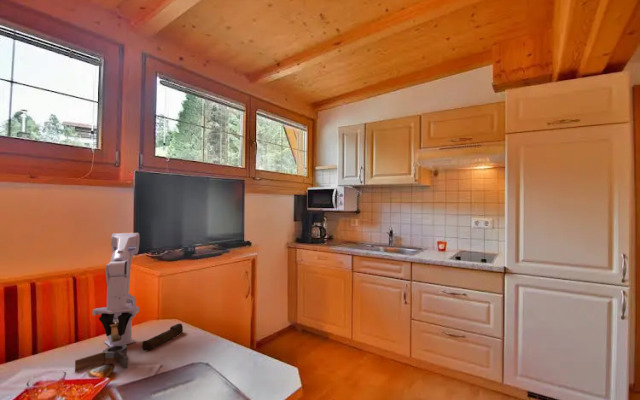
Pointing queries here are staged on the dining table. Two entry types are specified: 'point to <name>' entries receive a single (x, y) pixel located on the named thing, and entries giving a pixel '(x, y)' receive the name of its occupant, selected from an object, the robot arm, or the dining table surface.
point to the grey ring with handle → (117, 354)
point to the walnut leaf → (93, 361)
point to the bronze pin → (115, 331)
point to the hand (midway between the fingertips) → (115, 334)
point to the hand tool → (162, 337)
